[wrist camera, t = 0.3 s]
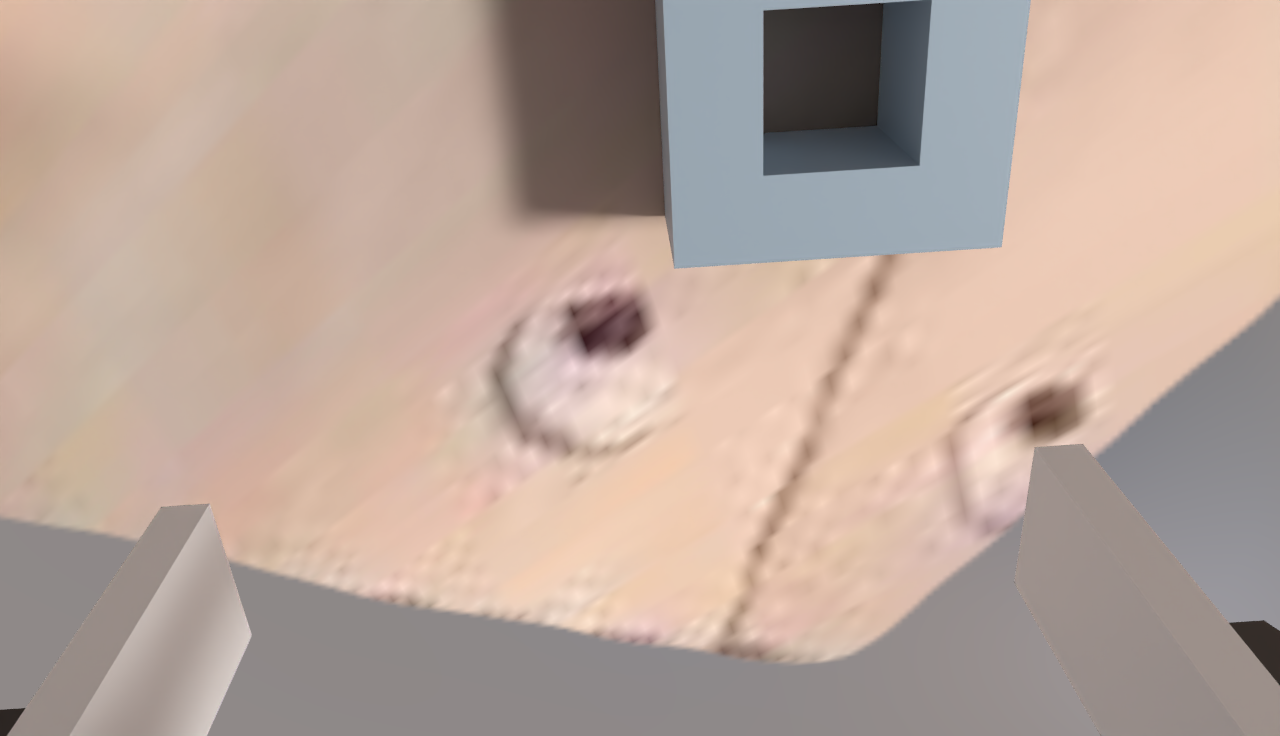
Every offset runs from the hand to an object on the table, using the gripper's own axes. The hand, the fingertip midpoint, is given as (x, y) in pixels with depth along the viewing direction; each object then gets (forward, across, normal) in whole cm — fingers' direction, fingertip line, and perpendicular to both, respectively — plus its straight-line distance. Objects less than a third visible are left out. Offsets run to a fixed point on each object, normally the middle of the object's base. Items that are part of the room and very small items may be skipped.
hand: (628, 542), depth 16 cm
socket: (+27, +8, +2) cm, 28 cm away
